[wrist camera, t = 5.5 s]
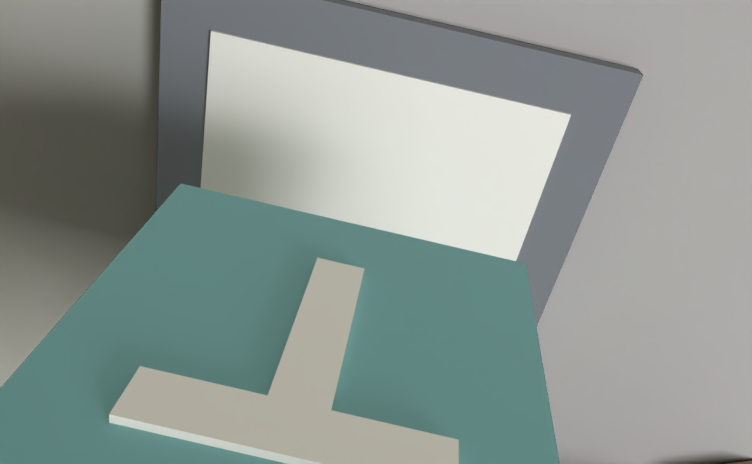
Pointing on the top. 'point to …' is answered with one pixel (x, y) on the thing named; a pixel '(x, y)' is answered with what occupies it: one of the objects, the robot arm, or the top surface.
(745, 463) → the brown wooden block
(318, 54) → the pad
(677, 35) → the top surface
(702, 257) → the top surface
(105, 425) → the letter cube
